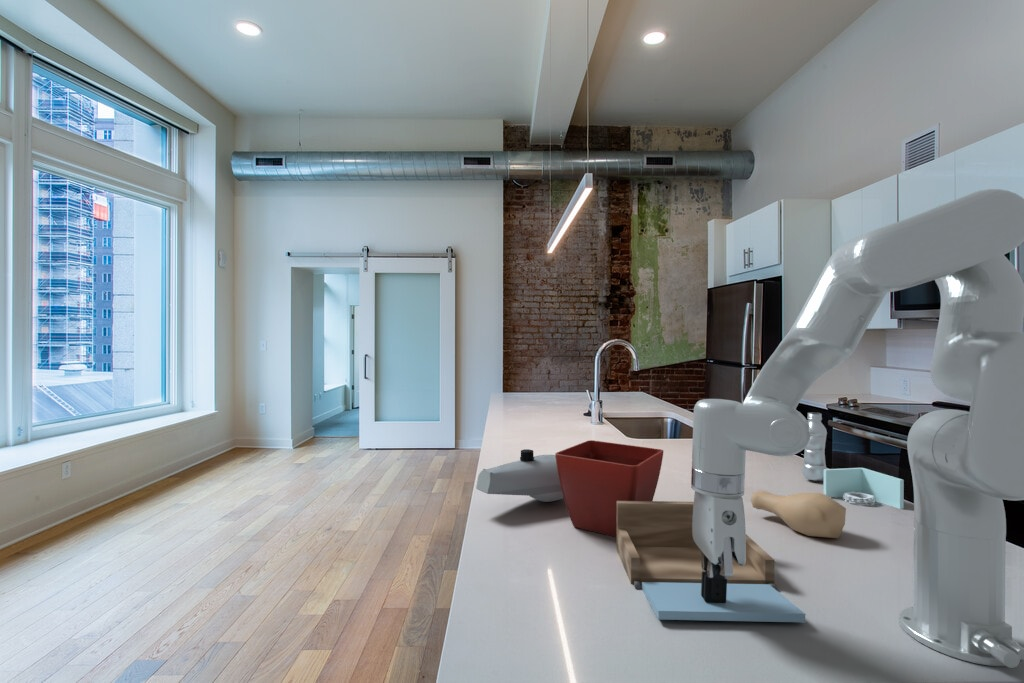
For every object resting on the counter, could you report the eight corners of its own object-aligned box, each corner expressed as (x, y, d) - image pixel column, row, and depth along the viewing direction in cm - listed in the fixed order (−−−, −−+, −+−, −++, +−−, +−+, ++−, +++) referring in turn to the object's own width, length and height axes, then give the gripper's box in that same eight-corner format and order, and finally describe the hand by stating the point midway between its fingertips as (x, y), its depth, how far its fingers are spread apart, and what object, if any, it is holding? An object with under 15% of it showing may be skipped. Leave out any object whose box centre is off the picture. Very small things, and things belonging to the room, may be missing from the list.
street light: (555, 487, 143) (555, 438, 143) (594, 501, 131) (594, 447, 131) (464, 508, 125) (464, 452, 125) (500, 527, 113) (500, 465, 113)
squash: (829, 549, 101) (829, 505, 101) (739, 518, 118) (739, 480, 118) (856, 538, 106) (857, 496, 106) (767, 511, 123) (767, 474, 123)
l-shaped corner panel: (823, 497, 135) (823, 469, 135) (862, 495, 137) (862, 467, 137) (861, 512, 123) (861, 482, 123) (903, 510, 125) (903, 479, 125)
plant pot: (664, 520, 117) (665, 448, 117) (636, 549, 101) (636, 465, 101) (589, 505, 127) (589, 439, 127) (552, 529, 111) (553, 453, 111)
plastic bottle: (805, 482, 148) (805, 414, 148) (799, 476, 155) (799, 411, 155) (830, 484, 146) (830, 415, 146) (823, 477, 153) (823, 412, 153)
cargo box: (779, 594, 83) (779, 534, 83) (633, 592, 84) (633, 532, 84) (738, 552, 99) (738, 502, 99) (616, 550, 100) (616, 500, 100)
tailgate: (769, 591, 83) (805, 622, 72) (641, 589, 84) (658, 619, 73) (769, 584, 83) (805, 613, 73) (641, 582, 84) (658, 610, 73)
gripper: (765, 497, 69) (761, 630, 69) (723, 468, 84) (719, 577, 84) (710, 495, 69) (705, 627, 69) (678, 467, 84) (674, 575, 84)
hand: (713, 599), depth 77 cm, fingers closed
